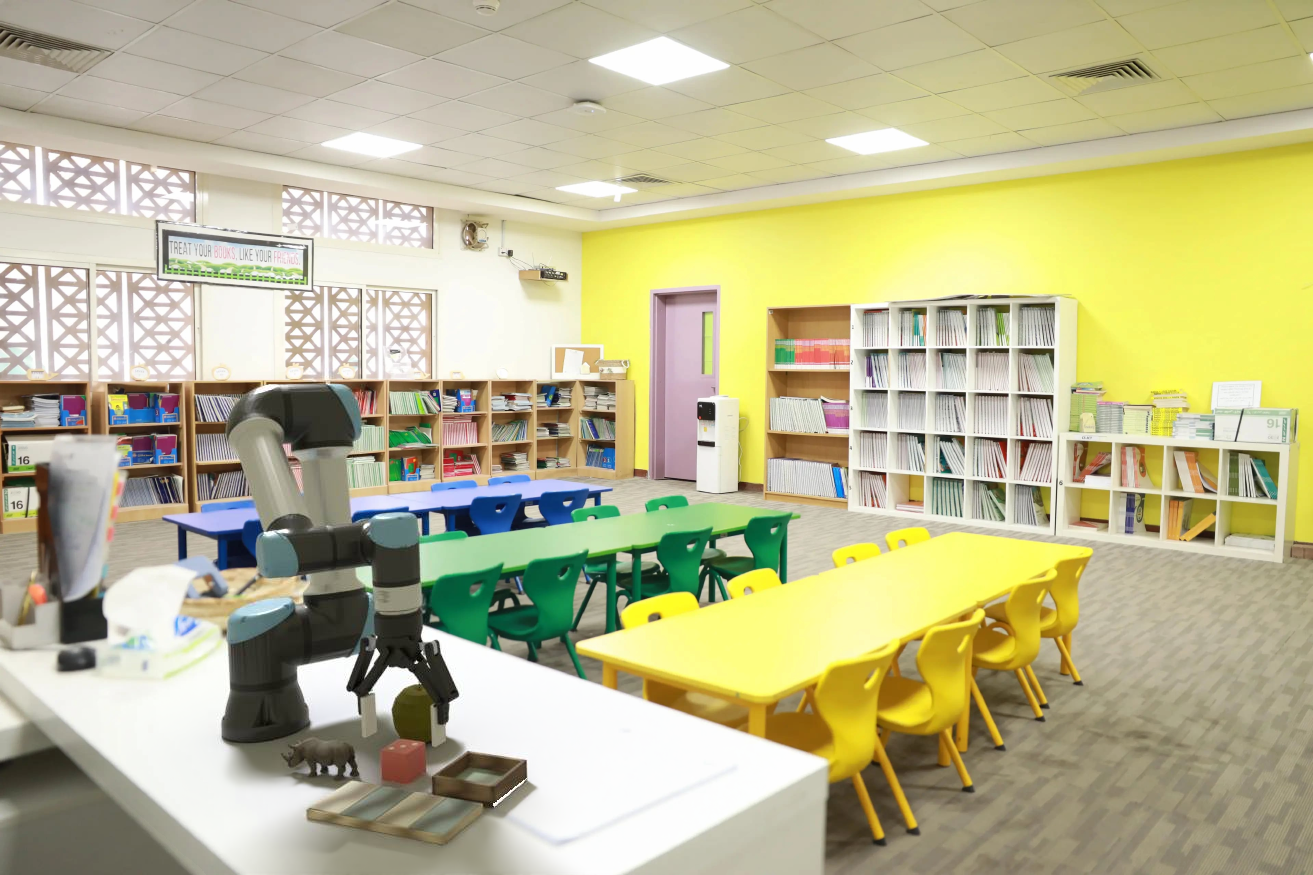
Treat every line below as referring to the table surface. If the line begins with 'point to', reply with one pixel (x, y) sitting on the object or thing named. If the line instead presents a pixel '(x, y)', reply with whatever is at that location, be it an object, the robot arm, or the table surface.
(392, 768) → the die
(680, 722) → the table surface
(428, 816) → the board
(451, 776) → the dice tray
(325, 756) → the rhino figurine
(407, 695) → the apple
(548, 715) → the table surface
